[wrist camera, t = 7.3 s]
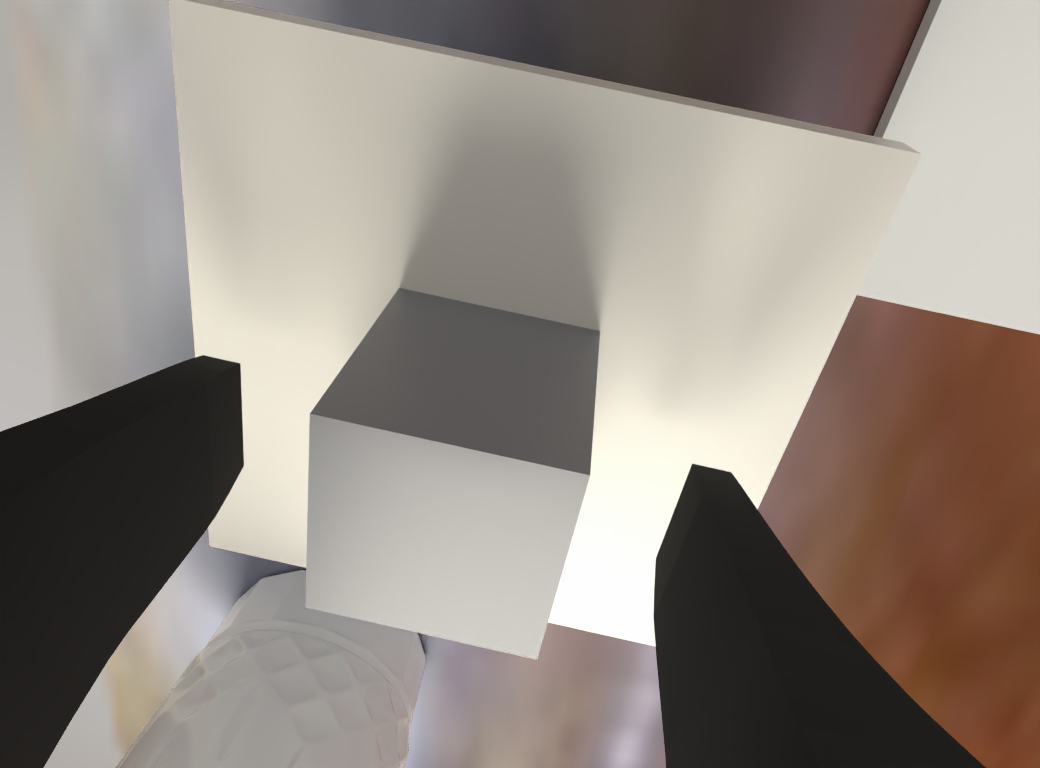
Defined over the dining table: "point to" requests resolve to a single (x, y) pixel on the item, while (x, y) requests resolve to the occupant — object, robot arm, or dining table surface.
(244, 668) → the white cup
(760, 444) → the lid
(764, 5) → the dining table surface
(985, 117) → the cream square tray
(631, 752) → the dining table surface
